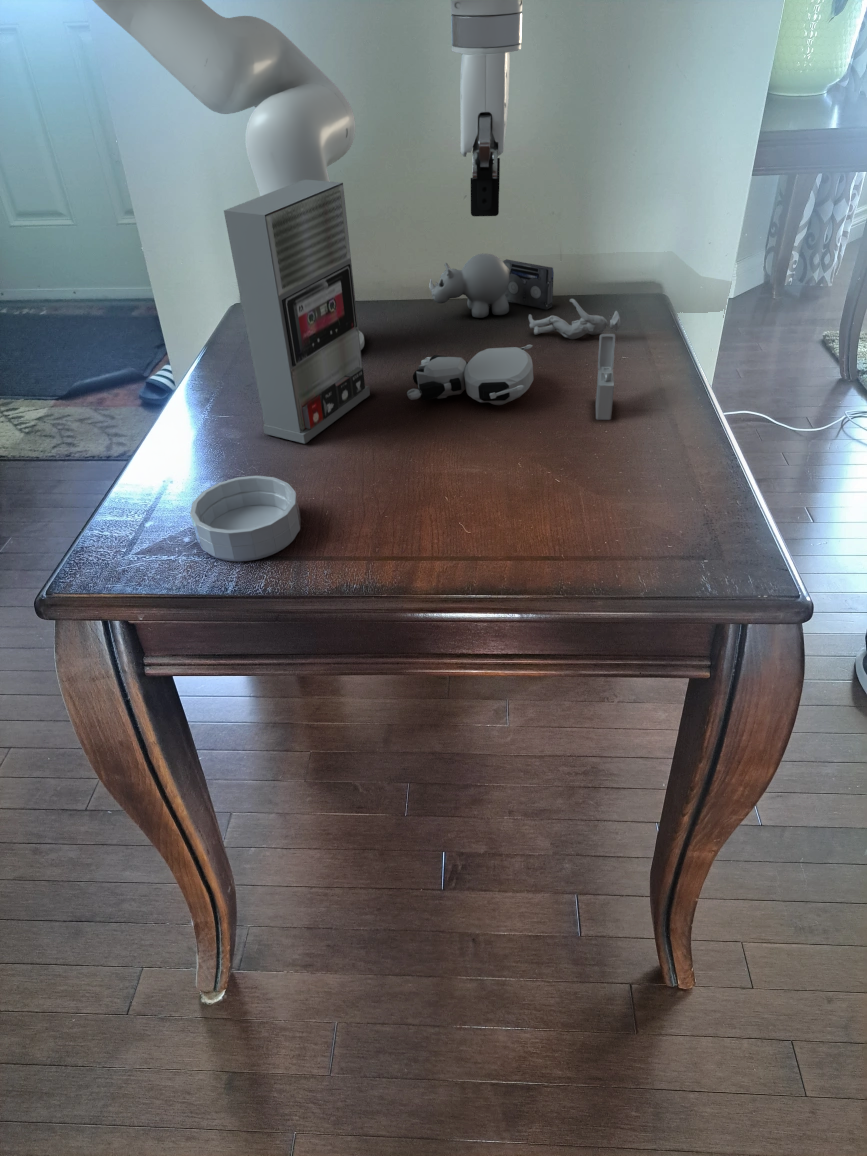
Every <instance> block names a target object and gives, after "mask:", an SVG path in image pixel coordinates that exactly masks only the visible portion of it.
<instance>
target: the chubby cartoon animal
mask: <svg viewBox="0 0 867 1156" xmlns="http://www.w3.org/2000/svg"><path fill="white" fill-rule="evenodd" d="M503 261H504V260H502V259H501V258H500V257H499V256H497V255H494V254H492V253H488V252H487V253H484V252H483V253H478V254H475V255H474V256H472V257H471V258H469V259H468V260H467V261H466V262H465V264H464V266H463V267H462V269H457V268H451V267H450V264H448V263H447V262H444V267H445V269H444V271H443V272H442V273H441V274H440V276H439V281H438V282H437V281H435V284H434V283H433V279H432V278H430V280H429V283H428V288H429V290H430V292H431V298H432V300H433V301H434V302H435V303H437V304H445V303H446V302H448V301H449V300H450V299H458V298H460V297H461V296H465V297H466V298H467V300H466V301H467V308H468V309H469V310H471V316H472V317H473V318H477V319H482V318H483V319H484V318H486V317H488V316H489V314H490V309H491V313H492V314H493V315H494V316H505V315H506V314H508V313H509V312H510V305H509V304H510V303H509V302H508V301H507V298H506V296H505V292H506V290H507V288H508V284H509V273H510V271H509V269H508V267H507V266H506V265H505V264H504V262H503Z"/></svg>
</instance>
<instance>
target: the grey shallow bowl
mask: <svg viewBox="0 0 867 1156" xmlns="http://www.w3.org/2000/svg"><path fill="white" fill-rule="evenodd" d="M298 501H299V500H298V495H297V492H296V490H295V489H294V488H293V487H292V486H291V485H290V483H289V482H286V481H285V480H282V479H280V478H278V477H275V476H265V475H247V476H238V477H233V478H231V479H227V480H224V481H220V482H217V483H216V484H214V485H212V486H210V487H208V488H207V489H205V490H203V491H202V492H201V493H200V494H199V495H198V496H197V497H196V498H195V499H194V500H193V501H192V503H191V507H190V512H189V515H190V519H191V523H192V526H193V531H194V533H195V538H196V540H197V542H198V545H199V546H200V548H201V549H202V551H204V552H206V553H207V554H208V555H210V556H212V557H213V558H216V559H219V560H222V561H227V562H249V561H255V560H261V559H263V558H264V559H265V558H267V557H270V556H272V555H274V554H277V553H279V552H280V551H282V550H284V549H285V548H286V547H288V546H289V545H290V544H291V543H292V542H293V541H294V540H295V539H296V537H297V535H298V533H299V532H300V531H301V519H302V518H301V513H300V508H299V507H300V506H299V502H298Z"/></svg>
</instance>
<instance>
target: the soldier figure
mask: <svg viewBox="0 0 867 1156" xmlns="http://www.w3.org/2000/svg"><path fill="white" fill-rule="evenodd" d="M569 302H570V303H572V305H573V306H574V307H575V308H576V309H575V310H576V311H577V313H578V315H579V317H580V318H579V319H575V320H572V321H571V324H569V323H568V322H567V321H566V320H564V319H562V318H560V317H559V316H557V315H553V314H552V315H550V316H547V317H545V318H542V319H537V320H535V319H533V315H532V314H531V313H530V314H528V316H527V317H528V322H529V329H530V330H532V329H533V334H534V336H536V335H539V334H541V333H542V334H544V333H552V332H555V331H556V332H557V333H559V335H562V336H563V337H564V338H566V339H569V340H576V339H579V338H581V337H583V336H584V335H586V334H590V335H591V336H596V335H601V334H603V332H604V331H605V329H606V328H607V327H609V328H610V330H614V331H615V333H618V331H619V329H620V327H621V326H620V325H621V317H620V314H619V312H618V310H615V311H614V314H613V315H612V314H610V315H609V316H607V319H606V318H605V317H604V316H602V315H598V314H593V315H591V314H589V313H587V312H586V311H585V310H584V309H583V308H582V307H581V305H580V304H579V303H578V302H577V300H576V299H574V298H570V299H569ZM609 317H611V318H610V319H609Z"/></svg>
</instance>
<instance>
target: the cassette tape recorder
mask: <svg viewBox="0 0 867 1156" xmlns="http://www.w3.org/2000/svg"><path fill="white" fill-rule="evenodd" d="M345 198H346V197H345V188H344V183H343V182H338V181H330V182H329V181H317V180H305V179H304V180H301V181H299V182H296V183H294V184H291V185H289V186H286V187H283V188H281V189H278V190H276V191H273V192H270V193H268V194H265V195H263V196H260V195H259V196H257V197H255V198H253V199H250V200H247V201H245V202H242V203H239V204H237V205H234V206H232V207H229V208H227V209H224V210H223V214H224V220H225V224H226V232H227V235H228V241H229V247H230V251H231V256H232V257H231V258H232V260H233V267H234V271H235V277H236V283H237V289H238V293H239V298H240V305H241V309H242V313H243V314H242V315H243V319H244V324H245V330H246V335H247V341H248V345H249V351H250V356H251V361H252V366H253V371H254V376H255V377H254V378H255V382H256V388H257V393H258V397H259V402H260V407H261V414H262V418H263V423H264V424H262V426H263V427H262V428H263V433H264V435H268V436H272V437H276V438H281V439H284V440H289V441H293V442H296V443H300V444H304V445H305V444H307V443H308V442H310V440H312V439H313V438H315V437H316V436H317V435H319V434H320V433H321V432H323V431H324V430H325V429H326V428H328V427H329V426H330V425H332V424H333V423H334V422H336V421H337V420H338V419H340V418H341V417H343V416H344V415H345V414H346V413H348V412H350V411H351V410H352V409H353V408H354V407H356V406H357V405H358V404H360V403H362V402H363V401H364V400H365V399H367V398H368V397H369V396H371V392H370V390H371V389H370V386H369V385H365V374H364V368H363V360H362V350H361V349H360V339H359V331H360V330H359V323H358V322H359V321H358V312H357V303H356V292H355V284H354V274H353V265H352V254H351V245H350V237H349V235H350V234H349V228H348V227H349V225H348V217H347V208H346V199H345Z"/></svg>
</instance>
